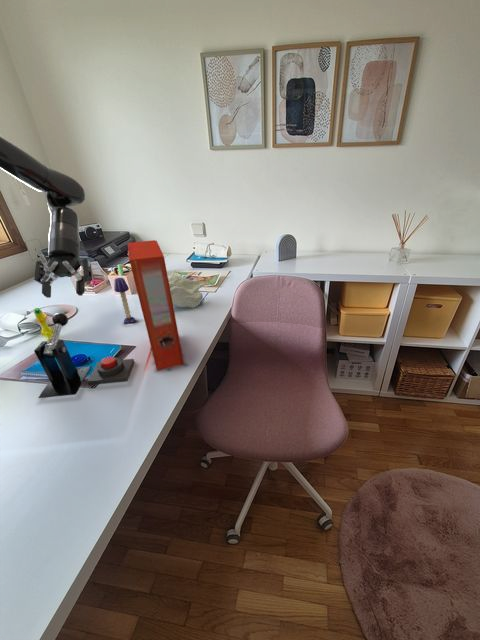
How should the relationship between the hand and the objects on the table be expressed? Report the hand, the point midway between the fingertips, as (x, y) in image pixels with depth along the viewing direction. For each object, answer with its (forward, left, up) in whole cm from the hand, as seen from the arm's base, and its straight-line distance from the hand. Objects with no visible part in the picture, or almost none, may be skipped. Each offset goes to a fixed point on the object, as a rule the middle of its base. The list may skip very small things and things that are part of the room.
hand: (63, 295), depth 84 cm
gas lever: (0, -10, -8) cm, 13 cm away
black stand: (0, -15, -20) cm, 25 cm away
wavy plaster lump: (+27, +31, -20) cm, 45 cm away
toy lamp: (+9, +20, -20) cm, 29 cm away
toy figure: (-15, +11, -20) cm, 27 cm away
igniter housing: (+12, -13, -20) cm, 26 cm away
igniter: (+12, -13, -16) cm, 24 cm away
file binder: (+25, -4, -20) cm, 32 cm away
